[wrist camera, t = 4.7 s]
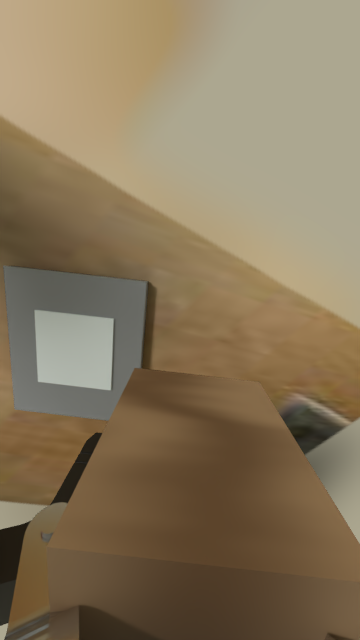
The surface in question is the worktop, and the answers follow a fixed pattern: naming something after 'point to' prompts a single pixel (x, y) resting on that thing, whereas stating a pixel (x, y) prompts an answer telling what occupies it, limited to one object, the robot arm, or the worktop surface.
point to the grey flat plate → (73, 339)
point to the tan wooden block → (202, 524)
